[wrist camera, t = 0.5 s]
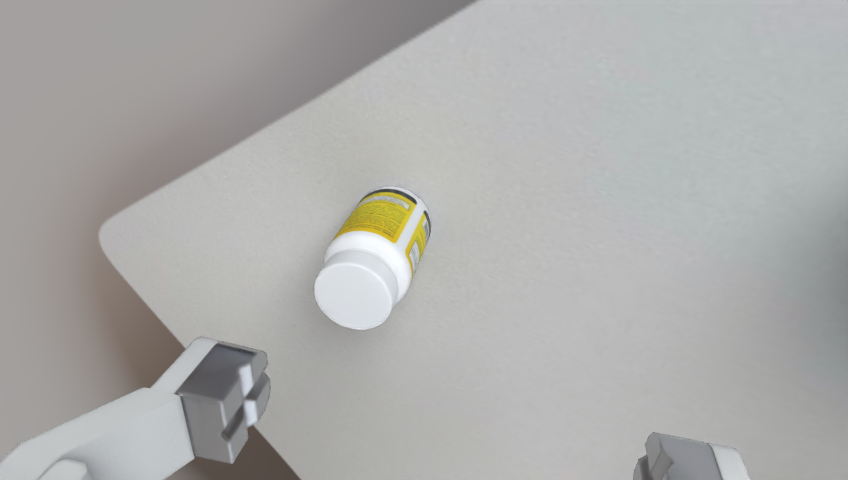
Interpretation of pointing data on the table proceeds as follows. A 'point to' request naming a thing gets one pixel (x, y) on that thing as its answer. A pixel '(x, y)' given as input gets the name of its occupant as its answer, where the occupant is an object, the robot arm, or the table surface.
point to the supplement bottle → (373, 258)
